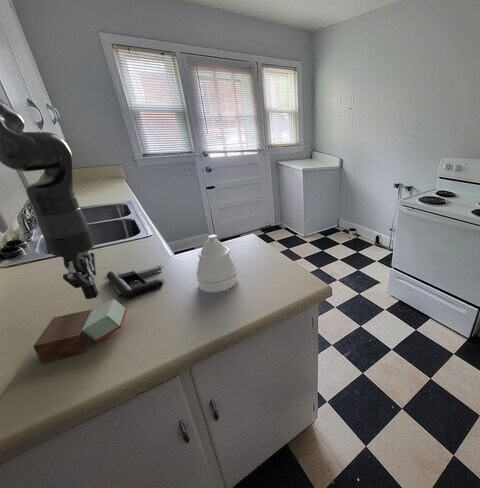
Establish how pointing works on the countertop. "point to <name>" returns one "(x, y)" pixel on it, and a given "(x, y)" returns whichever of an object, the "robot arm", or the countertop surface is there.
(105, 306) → the mint and red box
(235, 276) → the honey pot
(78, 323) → the stand
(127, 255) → the countertop surface
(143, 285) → the door handle
